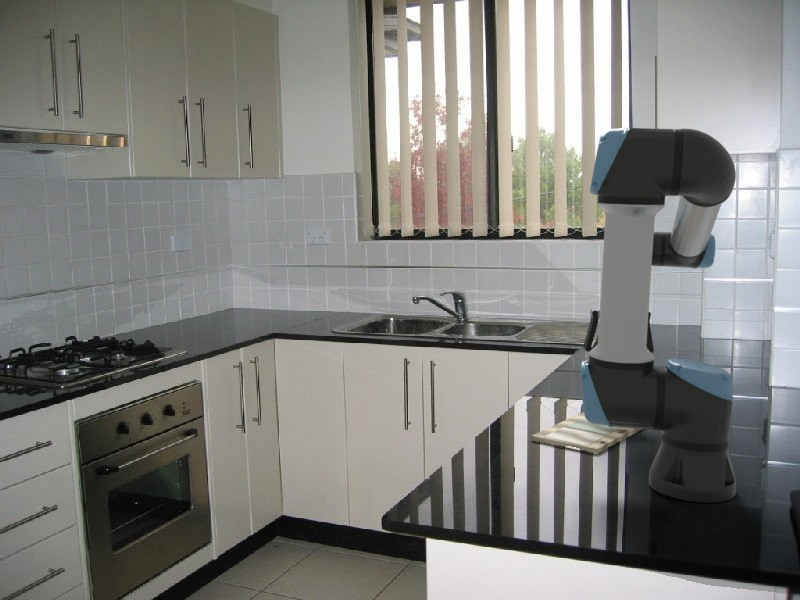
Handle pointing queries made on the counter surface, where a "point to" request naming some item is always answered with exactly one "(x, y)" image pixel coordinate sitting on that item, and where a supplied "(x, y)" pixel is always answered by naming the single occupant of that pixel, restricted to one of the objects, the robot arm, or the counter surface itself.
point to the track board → (583, 434)
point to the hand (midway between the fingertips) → (616, 381)
